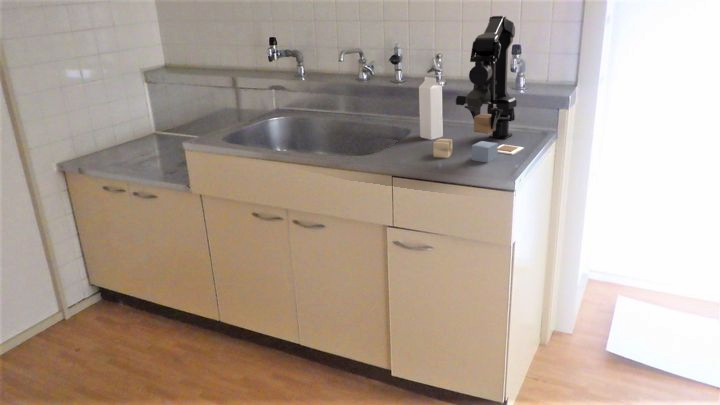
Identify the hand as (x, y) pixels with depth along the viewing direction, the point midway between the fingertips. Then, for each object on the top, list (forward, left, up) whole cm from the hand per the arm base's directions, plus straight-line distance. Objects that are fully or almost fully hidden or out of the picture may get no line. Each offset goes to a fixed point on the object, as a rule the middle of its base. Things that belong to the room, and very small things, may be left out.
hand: (485, 127), depth 191 cm
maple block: (+3, -14, -10) cm, 18 cm away
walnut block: (0, 0, -1) cm, 1 cm away
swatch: (-12, +2, -10) cm, 16 cm away
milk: (-14, -30, -11) cm, 35 cm away
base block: (0, 0, -10) cm, 10 cm away
